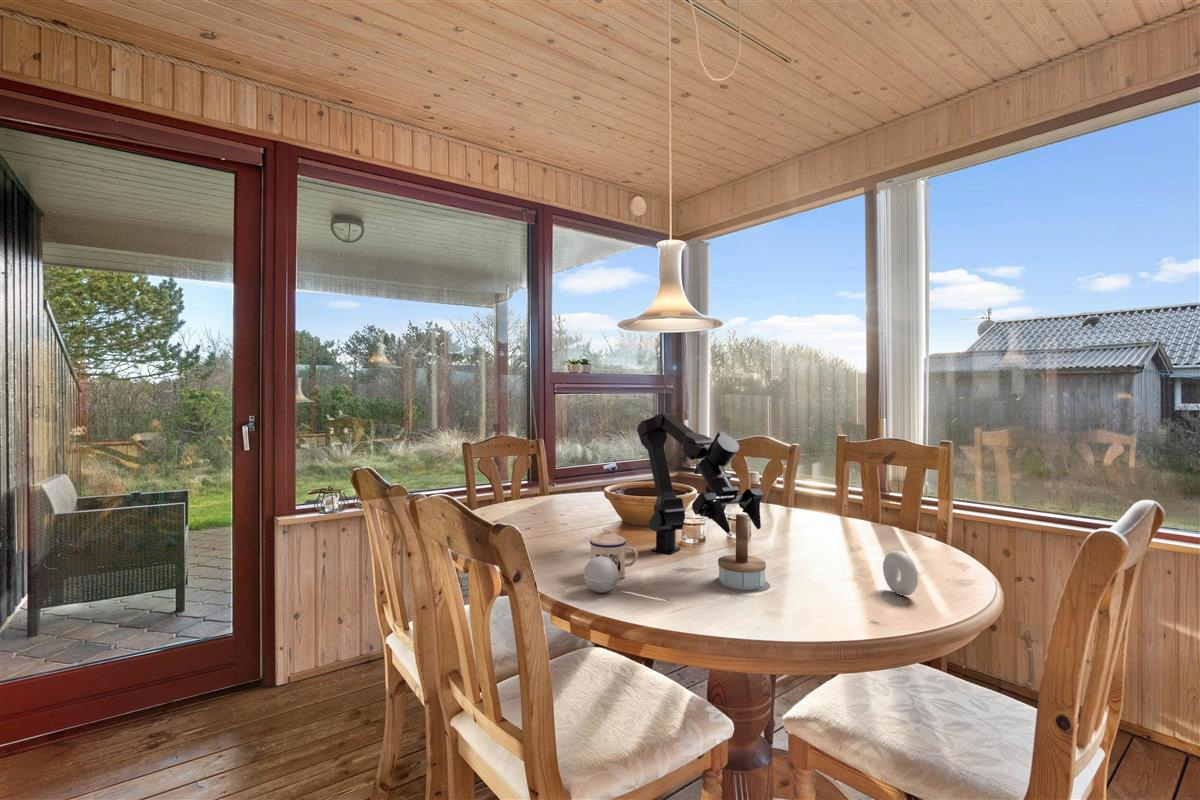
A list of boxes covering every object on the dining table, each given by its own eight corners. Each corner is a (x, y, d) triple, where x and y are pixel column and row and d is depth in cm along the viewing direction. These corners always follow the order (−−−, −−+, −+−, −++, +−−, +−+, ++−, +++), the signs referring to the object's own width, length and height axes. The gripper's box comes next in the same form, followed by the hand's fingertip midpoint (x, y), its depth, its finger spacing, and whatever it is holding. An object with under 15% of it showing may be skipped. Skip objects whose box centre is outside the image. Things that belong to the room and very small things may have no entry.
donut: (879, 587, 133) (879, 545, 133) (893, 587, 134) (893, 545, 134) (906, 603, 123) (906, 557, 123) (921, 602, 124) (921, 556, 124)
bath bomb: (620, 587, 133) (620, 553, 133) (615, 598, 125) (616, 562, 125) (587, 585, 134) (587, 551, 134) (580, 596, 126) (580, 560, 126)
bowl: (729, 574, 142) (729, 557, 142) (769, 581, 136) (769, 564, 136) (713, 585, 133) (713, 567, 133) (755, 593, 128) (755, 574, 128)
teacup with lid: (588, 581, 137) (588, 533, 137) (590, 569, 146) (591, 524, 146) (637, 582, 137) (638, 533, 137) (637, 570, 146) (637, 525, 146)
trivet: (725, 573, 144) (725, 571, 144) (777, 582, 136) (777, 581, 136) (705, 587, 133) (705, 585, 133) (759, 598, 126) (759, 596, 126)
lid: (717, 557, 141) (718, 509, 141) (763, 560, 139) (763, 511, 139) (718, 570, 130) (718, 519, 130) (767, 574, 128) (768, 521, 128)
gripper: (730, 494, 153) (758, 544, 143) (672, 499, 145) (697, 552, 135) (750, 468, 146) (780, 519, 136) (690, 472, 138) (718, 526, 128)
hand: (744, 530), depth 134 cm, fingers open, 9 cm apart
